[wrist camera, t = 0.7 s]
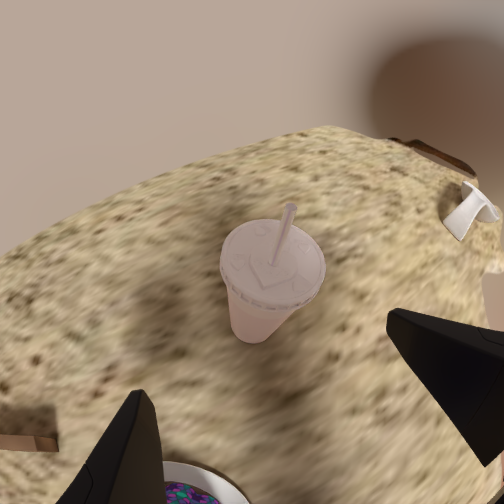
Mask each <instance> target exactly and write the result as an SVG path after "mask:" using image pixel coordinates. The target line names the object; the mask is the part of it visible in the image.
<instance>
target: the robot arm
mask: <svg viewBox="0 0 504 504" xmlns="http://www.w3.org/2000/svg"><path fill="white" fill-rule="evenodd" d="M386 331H387V334H388V336H389V337H390V339H391V340H392V342H393V343H394V345H395V346H396V348H397V349H398V351H399V353H400V354H401V356H402V357H403V359H404V360H405V362H406V363H407V364H408V366H409V367H410V368H411V369H412V371H413V372H414V373H415V374H416V376H417V377H418V378H419V379H420V381H421V382H422V383H423V384H424V386H425V387H426V388H427V390H428V391H429V392H430V393H431V395H432V396H433V397H434V399H435V400H436V401H437V402H438V404H439V405H440V406H441V408H442V409H443V410H444V412H445V413H446V414H447V416H448V417H449V418H450V420H451V421H452V422H453V424H454V425H455V427H456V428H457V429H458V431H459V432H460V433H461V435H462V436H463V438H464V439H465V441H466V442H467V443H468V445H469V446H470V448H471V449H472V450H473V452H474V453H475V455H476V456H477V458H478V459H479V461H480V462H481V464H482V465H483V466H484V467H486V466H487V465H489V464H490V463H491V462H492V461H493V460H494V459H495V458H496V457H497V456H498V455H499V454H500V453H501V452H502V451H503V450H504V332H501V331H495V330H490V329H485V328H481V327H476V326H472V325H468V324H463V323H459V322H455V321H451V320H446V319H442V318H438V317H434V316H430V315H426V314H421V313H417V312H413V311H409V310H405V309H401V308H395V309H393V310H391V311H389V313H388V316H387V325H386ZM85 463H86V464H84V465H83V466H82V468H81V470H80V471H79V473H78V474H77V476H76V477H75V479H74V480H73V482H72V483H71V484H70V486H69V487H68V488H67V490H66V491H65V492H64V493H63V495H62V496H61V497H60V498H59V500H58V501H57V502H56V503H55V504H167V497H166V489H165V480H164V470H163V459H162V448H161V441H160V436H159V430H158V425H157V419H156V412H155V407H154V405H153V403H152V401H151V400H150V398H149V397H148V395H147V394H146V392H145V391H144V390H143V389H139V390H133V391H131V392H130V394H129V395H128V397H127V398H126V400H125V401H124V403H123V404H122V406H121V407H120V409H119V410H118V412H117V413H116V415H115V417H114V418H113V420H112V421H111V423H110V424H109V426H108V427H107V429H106V430H105V432H104V433H103V435H102V437H101V438H100V440H99V441H98V443H97V444H96V446H95V447H94V449H93V451H92V452H91V454H90V455H89V457H88V459H87V460H86V462H85ZM503 481H504V479H503ZM487 504H504V486H503V487H502V488H501V489H500V490H499V491H498V493H497V494H496V495H495V496H494V497H493V498H492V499H491V500H490V501H489V502H488V503H487Z"/></svg>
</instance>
